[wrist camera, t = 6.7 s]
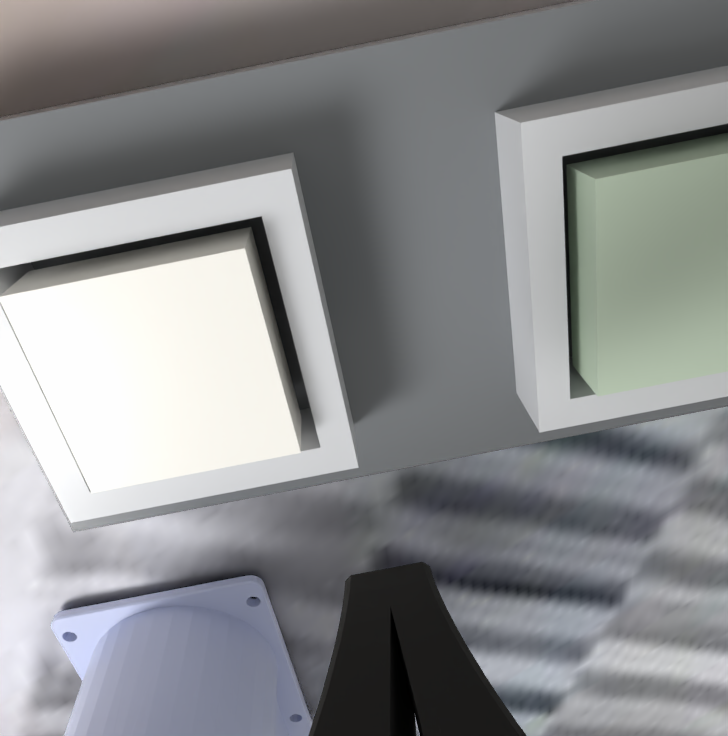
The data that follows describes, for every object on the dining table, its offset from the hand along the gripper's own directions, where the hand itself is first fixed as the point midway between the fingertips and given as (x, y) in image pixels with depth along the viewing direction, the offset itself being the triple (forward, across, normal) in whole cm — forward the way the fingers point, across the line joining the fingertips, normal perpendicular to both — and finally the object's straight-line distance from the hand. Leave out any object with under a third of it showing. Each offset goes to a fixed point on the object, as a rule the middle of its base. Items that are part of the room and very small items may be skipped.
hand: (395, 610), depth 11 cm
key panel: (+10, -2, -3) cm, 11 cm away
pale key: (+6, +4, -3) cm, 8 cm away
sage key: (+6, -8, -3) cm, 10 cm away
